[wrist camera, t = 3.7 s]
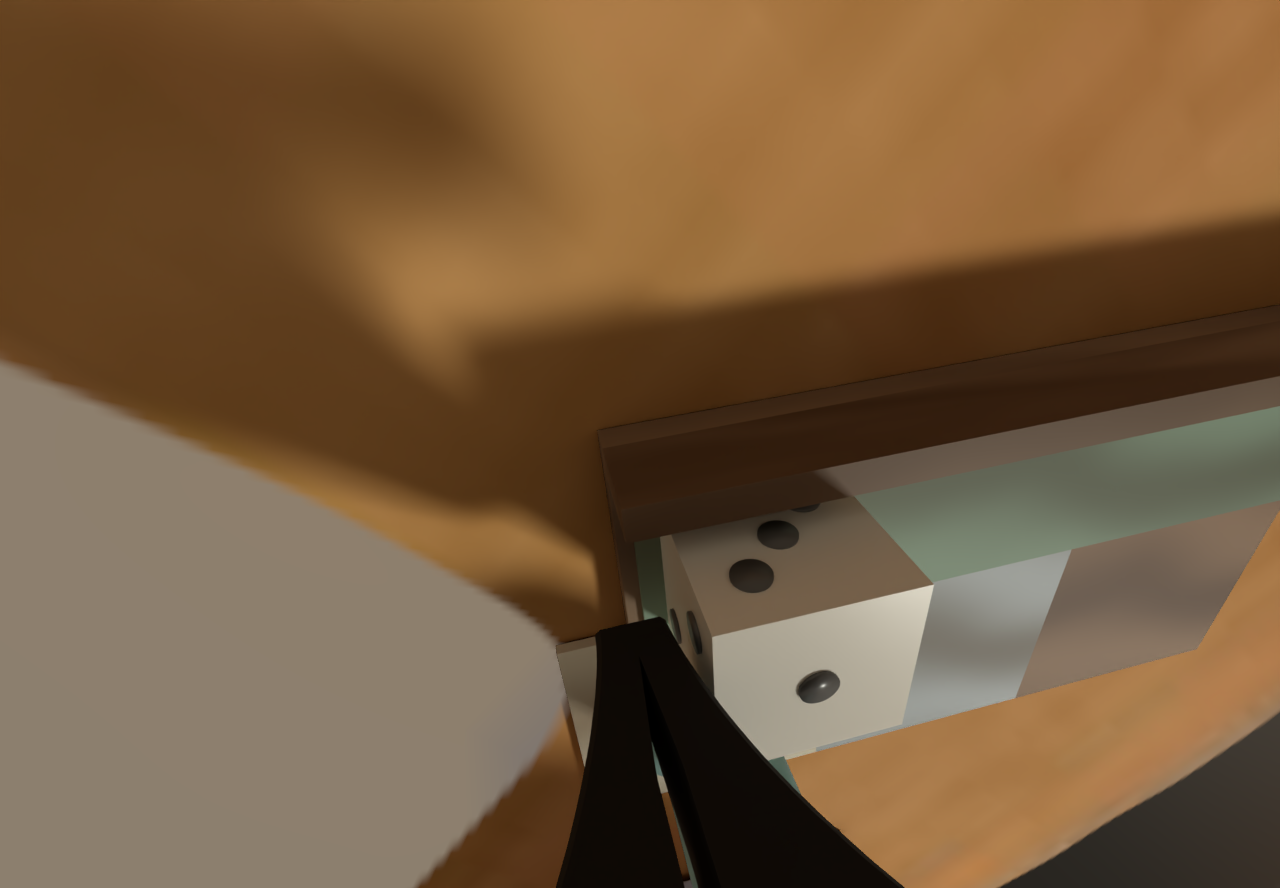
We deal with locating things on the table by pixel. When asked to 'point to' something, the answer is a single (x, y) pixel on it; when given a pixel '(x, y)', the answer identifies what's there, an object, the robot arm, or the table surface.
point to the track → (1042, 619)
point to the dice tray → (974, 451)
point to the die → (799, 622)
